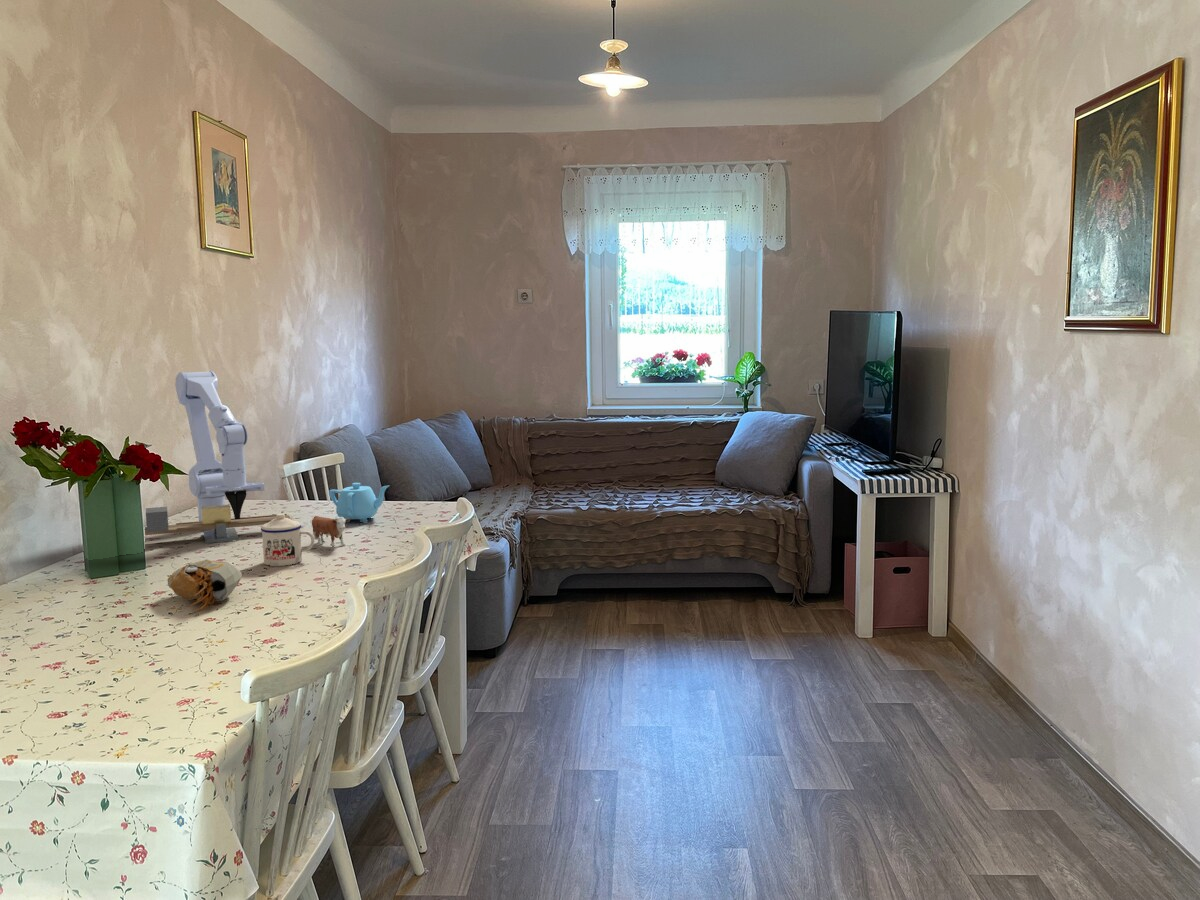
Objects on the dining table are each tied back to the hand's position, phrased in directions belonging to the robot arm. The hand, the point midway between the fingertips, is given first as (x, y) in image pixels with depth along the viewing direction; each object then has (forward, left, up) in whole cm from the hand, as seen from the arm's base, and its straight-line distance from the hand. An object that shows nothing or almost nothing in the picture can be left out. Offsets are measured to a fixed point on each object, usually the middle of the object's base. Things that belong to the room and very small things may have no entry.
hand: (237, 518), depth 244 cm
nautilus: (+62, -12, -5) cm, 63 cm away
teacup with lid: (+36, +9, -5) cm, 37 cm away
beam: (0, -4, -1) cm, 5 cm away
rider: (0, -5, -1) cm, 5 cm away
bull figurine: (+24, +21, -5) cm, 32 cm away
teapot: (-4, +34, -5) cm, 34 cm away
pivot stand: (0, -4, -5) cm, 6 cm away
